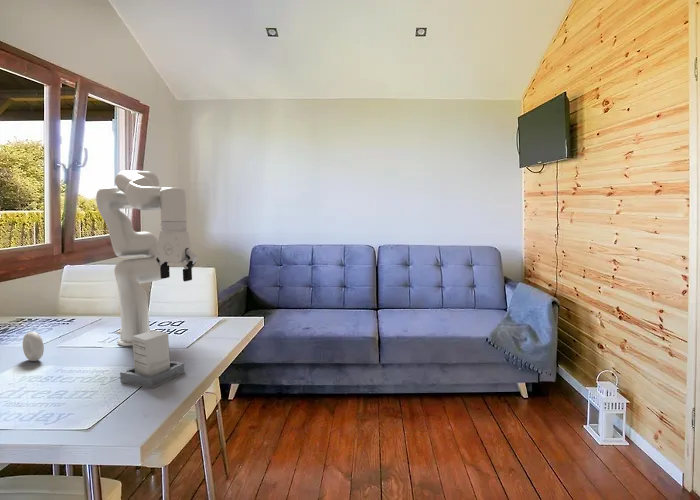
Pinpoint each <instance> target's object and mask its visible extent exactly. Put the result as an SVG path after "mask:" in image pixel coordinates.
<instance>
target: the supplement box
mask: <svg viewBox="0 0 700 500" xmlns="http://www.w3.org/2000/svg"><path fill="white" fill-rule="evenodd" d="M132 340H133V346H132V350H133V351H132V353H133V365H134V366H133V367H134V368H135V373H137V374H143V375H148V376H154V375H156V374H158V373H160V372H162V371H165V370H167V369H169V368H170V361H171V359H170V344H169V343H170V342H169V333H167V332H163V331H159V330H156V329H154V330H150V331H149V332H145V333H142V334H138V335H135V336H132Z"/></svg>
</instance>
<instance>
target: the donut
mask: <svg viewBox="0 0 700 500" xmlns="http://www.w3.org/2000/svg"><path fill="white" fill-rule="evenodd" d="M22 339H23V340H22V350H23V354H24V355H25V358H26V359H28V361H30V362H37V361H39V360H40V359H42V357H43V356H44V350H45V348H44V347H45V346H44V342H43V338H42V336H41V335H40V333H38V332H36V331H28V332H27V333H26V334H25V335H24V336H23V338H22Z"/></svg>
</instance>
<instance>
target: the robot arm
mask: <svg viewBox="0 0 700 500" xmlns="http://www.w3.org/2000/svg"><path fill="white" fill-rule="evenodd" d="M114 185H115V186H114ZM114 185H113V186H111V185H109V186H104V187H101V188H99V189H98V191H97V192H96V196H95V197H96V198H95V200H96V206H97V209H98V213H99V214H100V216H101V218H102V220H103V221H104V223H105V224H106V227H107V231H108V234H109V239H110V243H111V247H112V249H113V250H112V251H113V253H114V254H115V256H116V257H118V258H128V259H123V260H121V261H118V262H117V263H116V264H115V266H114V276H115V280H116V284H117V289H118V290H117V291H118V297H119V311H120V312H119V313H120V325H121V326H120V328H119V330H117V331H116V335H120V338H118V340H117V345H119V346H123V347H133V340H132V336H135V335H138V334H142V333H145V332H149V331H151V330H150V315H149V298H148V293H147V291H146V290H145V289H144V287H142V286H141V284H144V283H151V282H157V281H158V282H159V281H162V280H163V279H167V278H170V277H171V276H170V272H171V271H170V265H169V263H172V264H173V263H174V264H181V265H182V267H183V269H182V281H183V282H189V281H192V280H193V269H194V265H196V261H197V259H198V255H197V254H196V253H194V252H193V251H192V247H191V240H190V234H189V231H188V223H187V197H186V196H187V194H186V190H185V189H184V188H182V187H168V186H160V179H159V177H158V176H157V174H155V173H154V172H152V171H150V170H149V171H148V170H146V171H145V170H135V169H134V170H132V169H130V170H121V171H120V172H119V173H118V172H117V174H116V175H115V177H114ZM121 209H125V210H126V209H127V210H128V209H129V210H130V209H136V210H140V211H160V226H161V227H160V228H161V230H159V234H158V238H157V236H156V235H155V233H152V232H150V231H135V230H134V228H133V222H132V221H131V219H130V218H129V217H128V215H126V214H125V213H124V212H123V211H121ZM135 257H138V258H135Z"/></svg>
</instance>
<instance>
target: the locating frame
mask: <svg viewBox="0 0 700 500" xmlns="http://www.w3.org/2000/svg"><path fill="white" fill-rule="evenodd" d="M185 368H186V367H185V362H179V361H175V360H174V361H173V360H170V368H169V369H167V370H165V371H162V372H160V373H158V374H156V375H154V376H148V375H143V374H137V373H135V368H134V366H132V367H129V368H127V369H125V370H122V371H120V372H119V377H120V378H119V379H120V383H123V384H127V385H132V386H137V387H142V388H148V389H155V388H157V387H159V386H161V385H163V384H165V383H167V382H169V381H171V380H173V379H175V378H176V377H179V376H181V375H183V374H186V370H185Z"/></svg>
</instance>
